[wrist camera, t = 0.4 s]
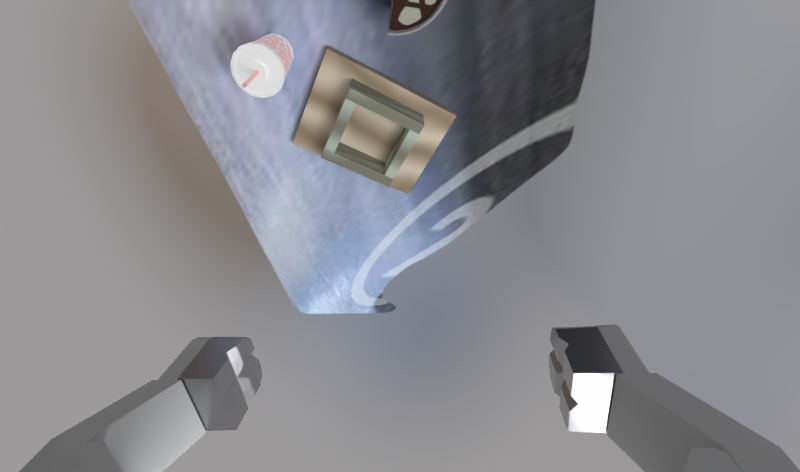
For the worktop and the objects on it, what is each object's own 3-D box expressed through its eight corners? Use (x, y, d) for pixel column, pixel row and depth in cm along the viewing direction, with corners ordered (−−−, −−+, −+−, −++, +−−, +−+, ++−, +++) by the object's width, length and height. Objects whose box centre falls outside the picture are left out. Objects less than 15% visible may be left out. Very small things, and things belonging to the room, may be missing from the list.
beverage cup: (284, 85, 55) (256, 124, 44) (244, 54, 52) (204, 88, 41) (307, 49, 52) (284, 82, 41) (266, 16, 49) (230, 40, 38)
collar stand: (328, 45, 52) (322, 56, 47) (455, 112, 57) (460, 127, 53) (294, 139, 60) (286, 155, 56) (408, 189, 66) (409, 207, 61)
